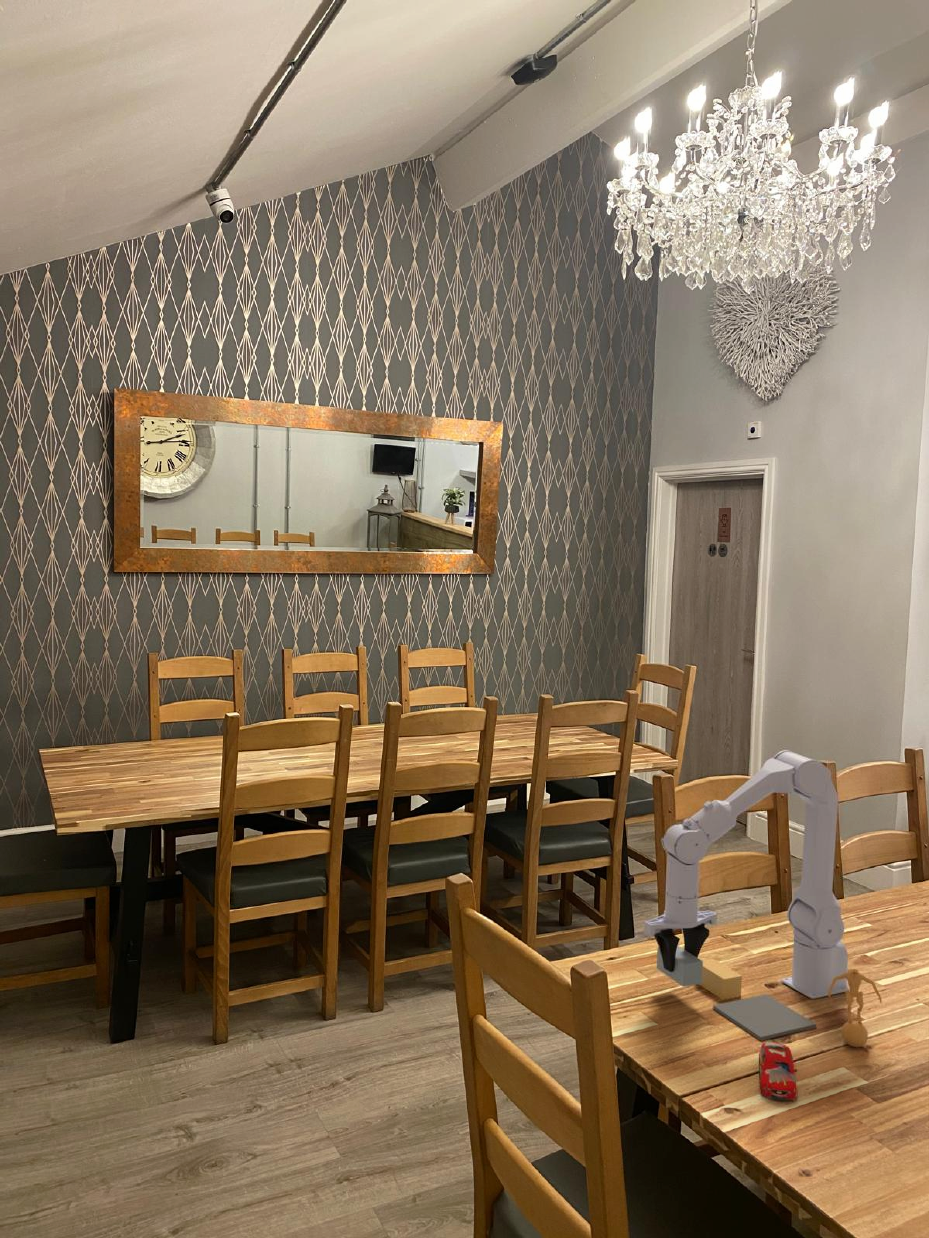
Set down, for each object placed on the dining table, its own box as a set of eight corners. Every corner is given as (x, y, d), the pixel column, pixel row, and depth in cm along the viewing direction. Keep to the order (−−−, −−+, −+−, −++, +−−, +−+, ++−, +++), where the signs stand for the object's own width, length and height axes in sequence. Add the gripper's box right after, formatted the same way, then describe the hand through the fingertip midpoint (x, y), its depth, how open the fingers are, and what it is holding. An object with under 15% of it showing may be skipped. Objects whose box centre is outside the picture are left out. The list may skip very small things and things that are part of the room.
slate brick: (674, 965, 175) (675, 944, 175) (701, 983, 167) (702, 961, 167) (656, 968, 173) (657, 946, 173) (683, 986, 166) (684, 964, 166)
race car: (797, 1108, 137) (798, 1081, 136) (758, 1101, 138) (759, 1074, 138) (794, 1062, 149) (795, 1038, 149) (758, 1056, 151) (759, 1032, 151)
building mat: (766, 997, 171) (766, 993, 171) (816, 1027, 160) (816, 1023, 160) (713, 1008, 166) (713, 1005, 166) (760, 1040, 155) (760, 1036, 155)
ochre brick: (712, 979, 179) (713, 958, 179) (740, 997, 171) (741, 975, 171) (695, 982, 177) (695, 961, 177) (723, 1000, 170) (724, 979, 170)
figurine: (829, 1047, 154) (832, 975, 153) (823, 1030, 159) (826, 960, 159) (883, 1054, 152) (887, 981, 151) (876, 1036, 158) (879, 966, 157)
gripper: (700, 881, 176) (697, 952, 177) (635, 891, 170) (632, 965, 171) (725, 893, 170) (722, 967, 170) (658, 904, 164) (656, 981, 164)
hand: (679, 967), depth 170 cm, fingers closed on slate brick, 4 cm apart
